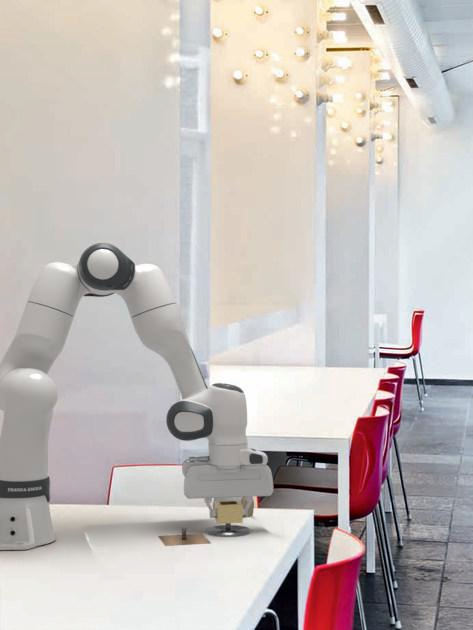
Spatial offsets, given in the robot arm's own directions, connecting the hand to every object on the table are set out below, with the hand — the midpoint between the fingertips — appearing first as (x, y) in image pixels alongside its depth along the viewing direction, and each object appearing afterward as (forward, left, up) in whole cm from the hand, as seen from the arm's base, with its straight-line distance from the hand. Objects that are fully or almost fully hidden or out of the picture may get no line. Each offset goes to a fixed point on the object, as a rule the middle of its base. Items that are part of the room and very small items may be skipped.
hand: (228, 516), depth 250 cm
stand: (-11, -6, -5) cm, 13 cm away
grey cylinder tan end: (+6, +20, -5) cm, 22 cm away
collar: (0, 0, -1) cm, 1 cm away
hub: (0, -1, -5) cm, 5 cm away
